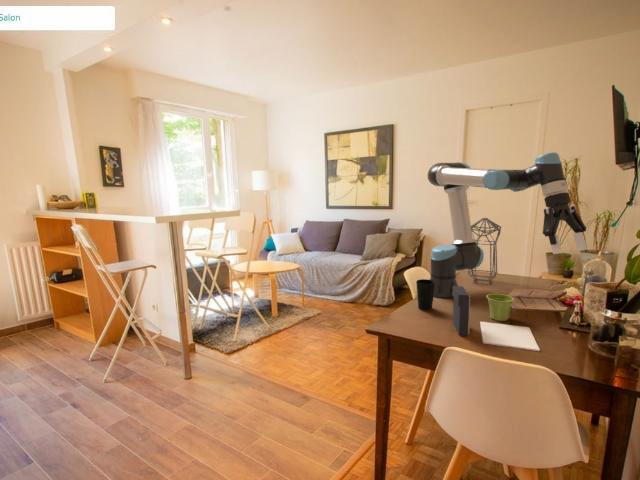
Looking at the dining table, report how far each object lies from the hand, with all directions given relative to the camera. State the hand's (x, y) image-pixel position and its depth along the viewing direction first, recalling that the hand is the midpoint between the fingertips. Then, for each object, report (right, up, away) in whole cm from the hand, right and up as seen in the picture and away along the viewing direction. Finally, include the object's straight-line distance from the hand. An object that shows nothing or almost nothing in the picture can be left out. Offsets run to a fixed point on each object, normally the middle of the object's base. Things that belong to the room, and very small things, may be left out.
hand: (570, 252), depth 117 cm
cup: (-44, -26, +25) cm, 57 cm away
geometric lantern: (-1, -19, +62) cm, 65 cm away
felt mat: (-24, -29, -3) cm, 38 cm away
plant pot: (-19, -27, +12) cm, 35 cm away
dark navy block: (-38, -29, +3) cm, 48 cm away
